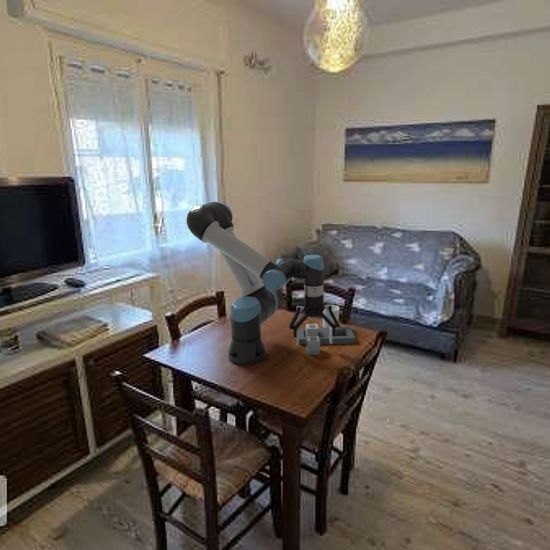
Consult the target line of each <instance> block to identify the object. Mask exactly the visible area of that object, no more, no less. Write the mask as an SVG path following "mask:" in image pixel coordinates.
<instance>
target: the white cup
mask: <svg viewBox="0 0 550 550" xmlns="http://www.w3.org/2000/svg"><path fill="white" fill-rule="evenodd" d="M326 305H327V304H326ZM326 305H325V304H324V306H326ZM330 305H331V307H332V312H333V314H334V315H335V317H336V319H337V321H338V322H339V319H340V307H339V306H338V305H334V304H330ZM323 313H324V314H325V315H326V316H327V317H328V318H329V320H330V321H331V322H332V323H333V324H335V322H334V320H333V318H332V317H331V315H330V313H329V311H327V310H326V309H324V311H323ZM329 327H331V326H330V325H329V324H328V323H327V322H326V321H325V320H324V319H323V318H322V328H329ZM336 328H339V327H336Z"/></svg>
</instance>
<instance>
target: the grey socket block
mask: <svg viewBox="0 0 550 550" xmlns="http://www.w3.org/2000/svg"><path fill="white" fill-rule="evenodd" d="M298 330H299V346H301V345H302V346H304V345H306V336H319V339H320V345H334V344H335V345H337V344H341V345H342V344H356V337H355V334H354V332H353V331H352V328H351V327H350V326H349V327H348V326H346V327H344V326H343V327H341V326H340V327H338V328H336V329H335V336H332V344H330V341H329V328H323V327H319V325H318V323H306V324H305V328H298ZM336 335H337V336H336ZM339 335H340V336H339Z"/></svg>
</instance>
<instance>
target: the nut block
mask: <svg viewBox="0 0 550 550" xmlns="http://www.w3.org/2000/svg"><path fill="white" fill-rule="evenodd" d="M305 337H306V346H305V350H306V354H307V355H308V356H312V355H313V356H315V355H317V356H318V355H321V344H320V339H319V335H318V336H306V335H305Z"/></svg>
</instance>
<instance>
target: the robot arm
mask: <svg viewBox="0 0 550 550" xmlns="http://www.w3.org/2000/svg"><path fill="white" fill-rule="evenodd" d="M233 218H234V217H233V212H232V210H231V208H230V207H229V206H228V205H227V204H226V203H224V202H222V201H221V202H220V201H210V202H208V203H205V204H199V205H196V206H193V207H192V208H191V209H190V210H189V211H188V212H187V215H186V225H187V228H188V230H189V231H190V233H191V234H192V235H193V236H194V237H195V238H197V239H198V240H199V241H201V242H203V243H204V244H208V243H209V244H210V245H211V246H213V247H214V248H216V249H218V250H219V253H220V254H221V256H222V257H223V261H224V262H225V263H226V265H227V268H228V269H229V271H230V273H231V274H232V276H233V278H234V280H235V282H236V284H237V286H238V288H239V289H240V292H241V293H240V297H239V298H237V299H235V300H234V301H232V303H231V304H230V311H229V315H230V328H231V329H230V331H231V341H230V344H229V347H228V351H227V352H228V354H227V356H228V360H230V361H231V362H232V363H233V364H237V365H241V366H242V365H243V366H246V365H247V366H248V365H255V364H257V363H258V364H259V363H260V362H262V361H263V360H264V359H265V358H266V356H267V351H266V347H265V344H264V342H263V339H262V326H261V325H263V323H264V322H266V321H267V320H268V319H269V318H271V317H272V316H273V315H274V314H275V312H276V311H277V309H278V305H279V303H278V302H279V300H278V298H277V295H276V293H275V292H274V291H278V290H279V289H282V288H283V287H284V286H285V285H286V284H287V283H289V282H290V281H291V280H292V279H294V280H295V279H297V280H303V285H304V286H303V288H304V290H303V293H304V295H303V297H304V304H303V306H300V305H299V304H297V305H296V310H295V312H294V314H293V316H292V318H291V321H290V322H289V324H288V327H289V330H293V337H294V338H295V339H296V340H295V341H296V342H295V343H296V346H300V345H299V330H298V329H300V327H301V325H302V324H303V323H304V322H305V321H306V320H307V319H308V318H319V317H321V319H322V320H323V319H324V320H325V321H326V322H327V323H328V324H329V325H330V326H331V327H329V341H330V344H329V345H333V344H332V336H336V335H335V329H336V327H338V328H340V327H341V325H340V324H339V320H338V321H337V319H336V317H335V315H334V314H333V312H332V307H331V305H332V304H330V303H329V304H326V306H325V304H324V303H325V302H324V270H325V266H324V259H323V257H322V255H319V254H306V255H305V256H304V257H303V259H292V258H285V257H284V258H278V259H275V262H273V261H271V260H270V259H268V258H267V257H266V256H264V255H262V254H261V253H260V252H258V251H256V249H254V248H252V247H251V246H249V245H248V244H246V243H245V242H243V241H242V240H241V239H239V238H238V237H236V235H235V232H234V229H235V225H234V224H233ZM258 278H260V279H261V280H262V282H260V281H259V279H258ZM324 309H326V310H327V311H329V313H330V315H331V317H332V318H333V320H334V322H335V324H333V323H332V322H331V321H330V320H329V318H328V317H327V316H326V315H325V314H324V313H323V311H324ZM302 311H304V312H303V315H302V316H301V317H300V318H299V316H300V313H302ZM298 318H299V320H298ZM296 321H297V322H296Z"/></svg>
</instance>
